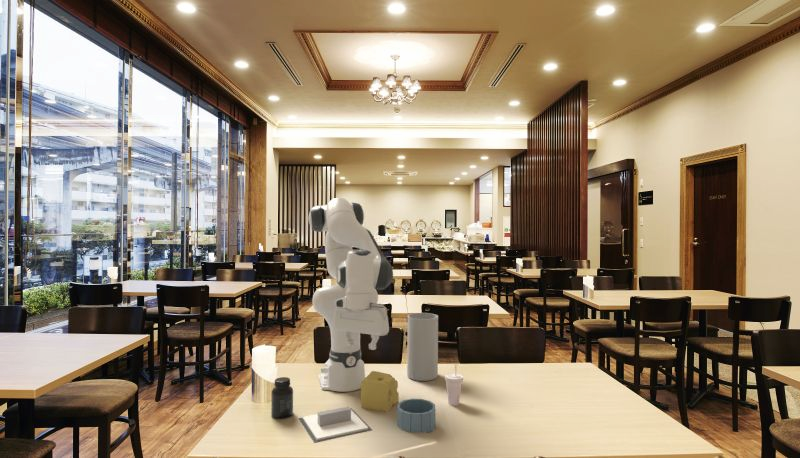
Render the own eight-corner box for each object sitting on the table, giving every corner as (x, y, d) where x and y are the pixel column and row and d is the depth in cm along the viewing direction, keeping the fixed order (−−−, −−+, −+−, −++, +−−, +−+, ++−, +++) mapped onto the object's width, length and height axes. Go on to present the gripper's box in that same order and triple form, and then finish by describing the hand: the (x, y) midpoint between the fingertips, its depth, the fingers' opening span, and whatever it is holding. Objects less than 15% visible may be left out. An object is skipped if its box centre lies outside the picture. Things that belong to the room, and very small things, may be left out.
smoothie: (462, 408, 155) (462, 367, 154) (443, 406, 156) (443, 366, 156) (463, 400, 161) (463, 361, 161) (445, 399, 162) (445, 360, 162)
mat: (298, 419, 144) (298, 418, 144) (351, 409, 153) (351, 408, 153) (314, 444, 128) (314, 442, 128) (372, 431, 137) (372, 430, 137)
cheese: (398, 401, 160) (398, 373, 160) (388, 414, 150) (388, 384, 149) (371, 398, 163) (371, 370, 163) (359, 409, 153) (359, 380, 153)
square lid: (302, 418, 144) (302, 406, 144) (349, 409, 151) (349, 397, 151) (316, 440, 130) (316, 426, 130) (368, 429, 137) (368, 415, 137)
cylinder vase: (418, 369, 195) (418, 311, 194) (443, 375, 187) (443, 315, 187) (401, 377, 185) (401, 316, 184) (427, 384, 177) (427, 320, 177)
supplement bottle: (270, 413, 149) (270, 377, 149) (291, 410, 152) (291, 374, 151) (272, 422, 143) (273, 384, 142) (294, 418, 145) (294, 381, 145)
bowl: (391, 421, 144) (391, 402, 144) (423, 414, 149) (423, 396, 149) (408, 437, 133) (408, 417, 133) (442, 429, 139) (442, 409, 139)
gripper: (393, 303, 135) (393, 349, 135) (345, 299, 148) (345, 342, 147) (379, 305, 130) (379, 353, 130) (330, 301, 143) (330, 345, 142)
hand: (361, 347), depth 139 cm, fingers open, 8 cm apart
